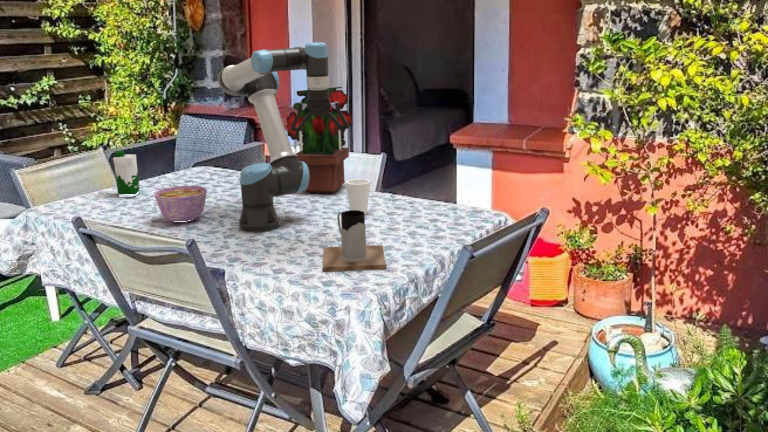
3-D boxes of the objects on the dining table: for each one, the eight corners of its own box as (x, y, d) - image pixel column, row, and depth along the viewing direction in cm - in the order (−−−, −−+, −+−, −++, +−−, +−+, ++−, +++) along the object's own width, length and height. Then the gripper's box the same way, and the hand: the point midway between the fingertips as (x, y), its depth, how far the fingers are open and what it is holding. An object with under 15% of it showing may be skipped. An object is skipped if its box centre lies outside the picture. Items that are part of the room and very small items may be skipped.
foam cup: (367, 217, 304) (366, 184, 301) (344, 216, 306) (343, 184, 303) (372, 210, 313) (371, 179, 310) (350, 209, 315) (349, 178, 311)
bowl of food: (146, 225, 301) (143, 196, 298) (176, 211, 319) (173, 184, 316) (190, 229, 294) (188, 199, 291) (219, 215, 312) (216, 187, 309)
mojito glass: (122, 193, 351) (117, 149, 345) (142, 193, 350) (137, 149, 345) (115, 198, 342) (110, 153, 337) (136, 198, 342) (131, 153, 336)
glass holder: (349, 264, 248) (347, 218, 243) (327, 252, 259) (326, 209, 255) (372, 258, 252) (371, 214, 248) (350, 247, 264) (349, 204, 259)
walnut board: (322, 271, 246) (322, 267, 245) (323, 251, 265) (323, 247, 264) (386, 269, 247) (385, 264, 246) (382, 249, 266) (382, 245, 265)
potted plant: (353, 185, 355) (350, 86, 343) (339, 197, 335) (335, 92, 322) (307, 183, 360) (302, 85, 348) (291, 195, 340) (285, 92, 327)
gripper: (280, 91, 263) (284, 152, 269) (354, 88, 265) (356, 150, 270) (282, 88, 271) (285, 148, 276) (354, 86, 272) (356, 146, 278)
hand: (320, 149), depth 273 cm, fingers open, 13 cm apart
